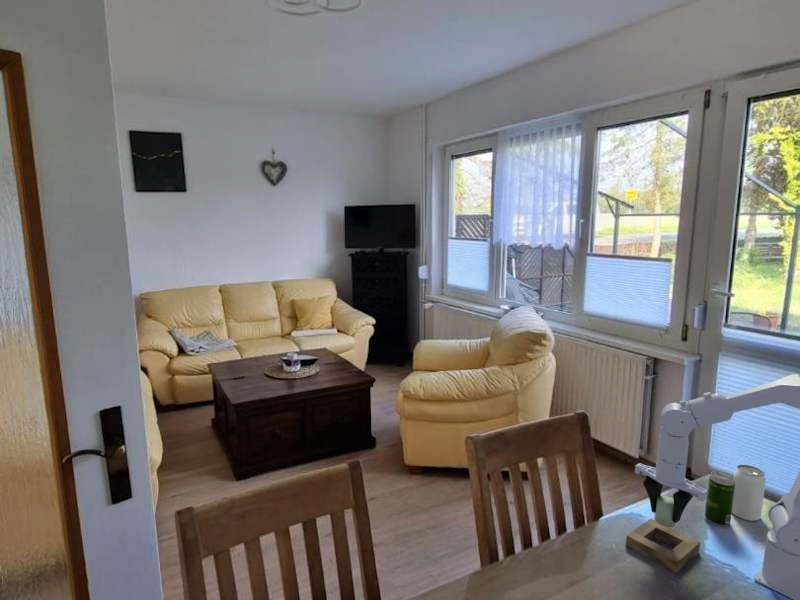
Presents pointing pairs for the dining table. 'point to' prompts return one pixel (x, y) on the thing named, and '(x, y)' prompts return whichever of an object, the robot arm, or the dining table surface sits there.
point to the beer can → (720, 498)
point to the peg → (665, 511)
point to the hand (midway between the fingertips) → (665, 515)
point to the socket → (670, 559)
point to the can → (748, 492)
